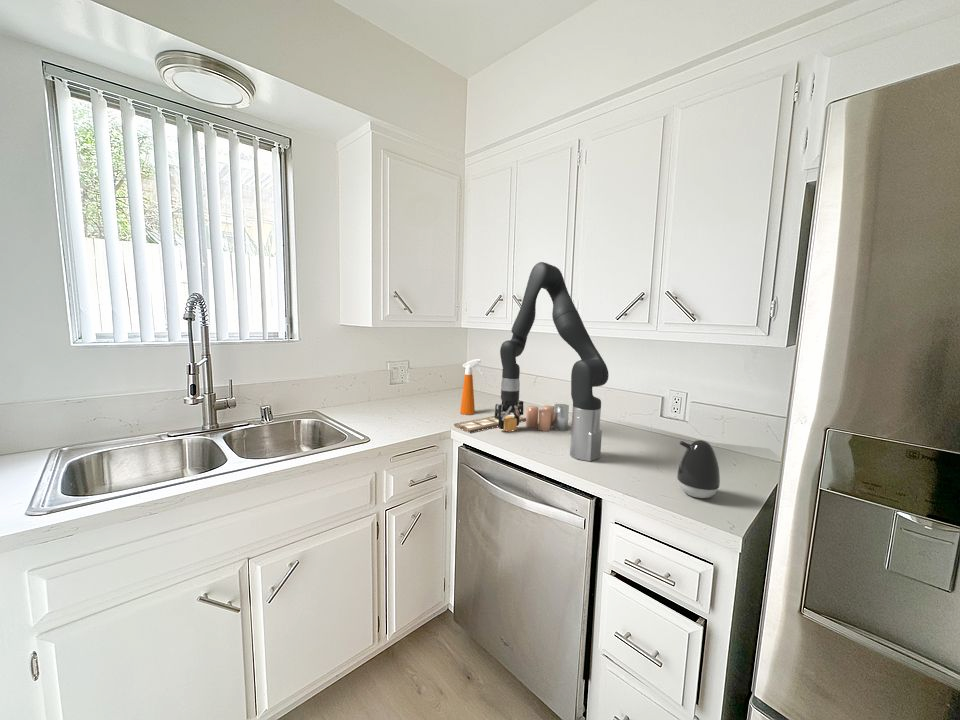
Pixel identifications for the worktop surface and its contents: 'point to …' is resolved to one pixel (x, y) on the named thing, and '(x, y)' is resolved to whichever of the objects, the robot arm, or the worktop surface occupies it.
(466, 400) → the spray bottle
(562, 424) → the grey tin
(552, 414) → the tan cylinder
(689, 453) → the pump dispenser
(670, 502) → the worktop surface
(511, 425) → the block
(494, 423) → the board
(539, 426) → the tan cylinder
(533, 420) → the tan cylinder
